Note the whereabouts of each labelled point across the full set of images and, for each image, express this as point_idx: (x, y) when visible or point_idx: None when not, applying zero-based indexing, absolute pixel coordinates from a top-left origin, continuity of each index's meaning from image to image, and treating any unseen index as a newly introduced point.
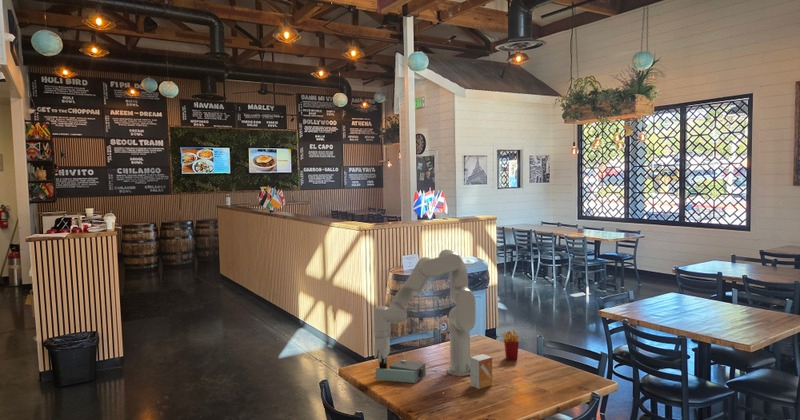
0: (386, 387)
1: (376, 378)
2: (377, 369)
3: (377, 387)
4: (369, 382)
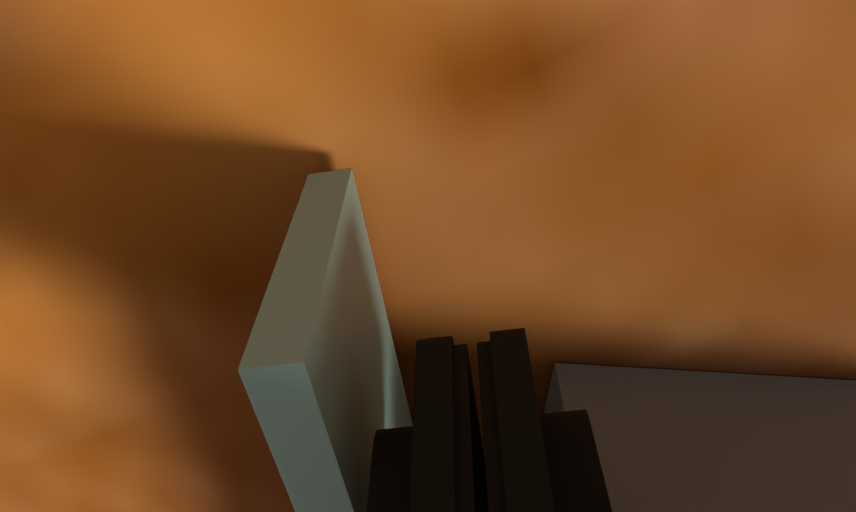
0: (114, 464)
1: (305, 199)
2: (261, 403)
3: (5, 346)
4: (112, 70)
